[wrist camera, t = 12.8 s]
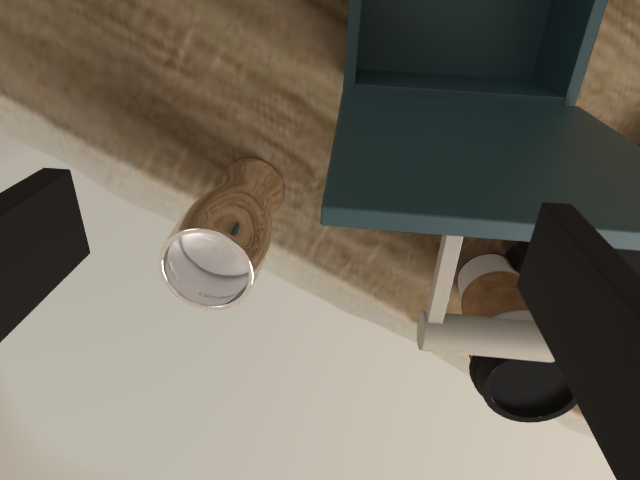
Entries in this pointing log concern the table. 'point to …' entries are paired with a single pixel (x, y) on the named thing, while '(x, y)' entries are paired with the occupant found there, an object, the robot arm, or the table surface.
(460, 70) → the bread box
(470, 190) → the bread box lid
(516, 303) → the coffee cup
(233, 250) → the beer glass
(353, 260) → the table surface
